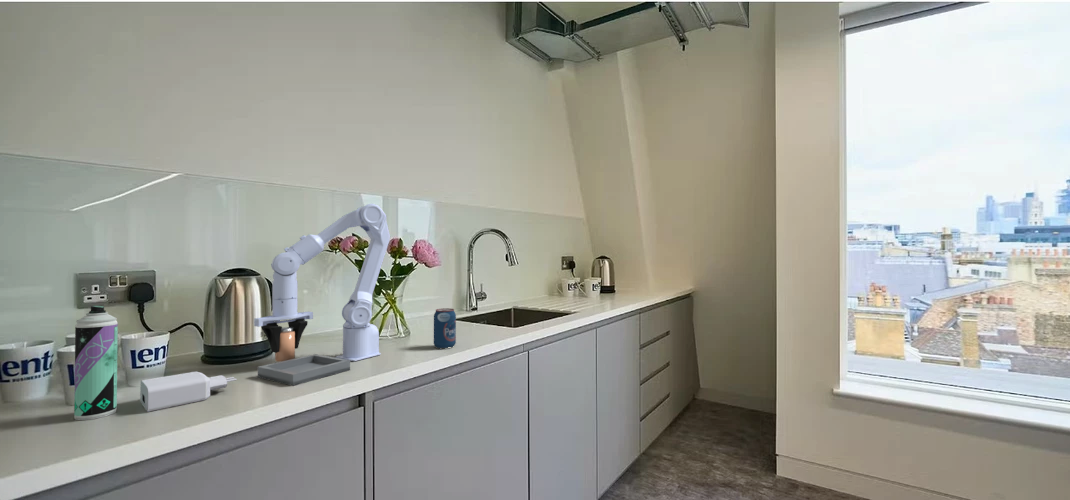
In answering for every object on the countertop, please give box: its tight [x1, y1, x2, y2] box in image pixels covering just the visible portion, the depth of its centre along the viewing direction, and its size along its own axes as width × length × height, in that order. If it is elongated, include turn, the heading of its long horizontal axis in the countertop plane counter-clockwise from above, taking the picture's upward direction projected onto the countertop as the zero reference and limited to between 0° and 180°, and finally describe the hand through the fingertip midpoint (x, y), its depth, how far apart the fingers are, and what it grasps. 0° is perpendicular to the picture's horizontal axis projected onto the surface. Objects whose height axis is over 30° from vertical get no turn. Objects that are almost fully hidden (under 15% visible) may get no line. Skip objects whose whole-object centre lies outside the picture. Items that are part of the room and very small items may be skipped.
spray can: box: [73, 305, 119, 421], centre depth 79 cm, size 6×6×20 cm
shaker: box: [274, 326, 296, 362], centre depth 113 cm, size 4×4×8 cm
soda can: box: [433, 308, 457, 349], centre depth 138 cm, size 7×7×12 cm
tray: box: [257, 353, 351, 387], centre depth 107 cm, size 15×14×2 cm
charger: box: [139, 371, 237, 413], centre depth 89 cm, size 5×9×15 cm
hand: (285, 350), depth 113 cm, fingers closed on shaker, 4 cm apart
